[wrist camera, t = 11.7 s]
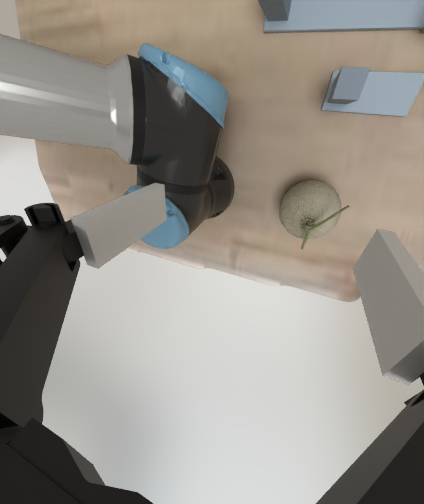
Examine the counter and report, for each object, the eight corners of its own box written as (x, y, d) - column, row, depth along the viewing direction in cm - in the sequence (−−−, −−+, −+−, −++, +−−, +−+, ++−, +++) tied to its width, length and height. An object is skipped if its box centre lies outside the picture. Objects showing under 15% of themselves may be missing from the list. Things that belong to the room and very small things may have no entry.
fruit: (279, 223, 48) (268, 257, 37) (287, 172, 42) (278, 193, 31) (328, 230, 45) (334, 269, 33) (345, 175, 39) (359, 200, 27)
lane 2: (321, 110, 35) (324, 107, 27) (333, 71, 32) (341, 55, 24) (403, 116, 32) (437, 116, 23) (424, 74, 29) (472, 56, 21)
